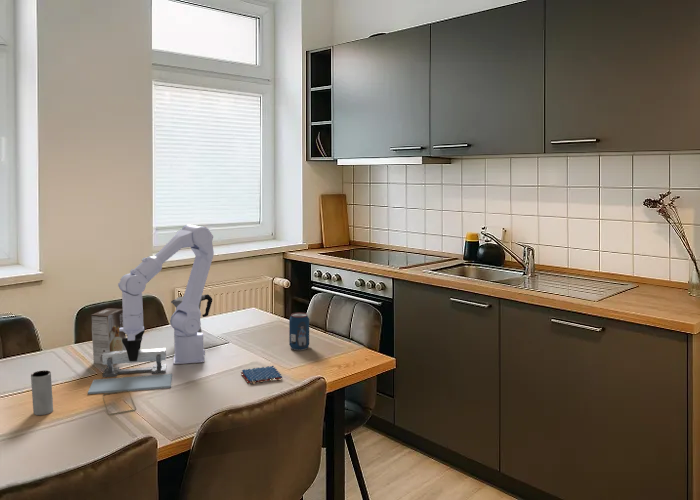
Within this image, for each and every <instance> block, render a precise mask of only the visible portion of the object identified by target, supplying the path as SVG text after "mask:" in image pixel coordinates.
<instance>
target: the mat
mask: <svg viewBox="0 0 700 500" xmlns="http://www.w3.org/2000/svg"><path fill="white" fill-rule="evenodd" d="M172 379H173V373H167V374H166V373H163V374H151V375H141V376H140V375H139V376H138V375H137V376H125V377H108V378H100V379H93V380H92V383H91V384H90V387H89V389H88V391H87V395H95V394H107V393H113V392H119V391H129V392H135V391H147V390H159V389H171V388H172Z"/></svg>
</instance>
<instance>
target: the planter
mask: <svg viewBox="0 0 700 500" xmlns="http://www.w3.org/2000/svg"><path fill="white" fill-rule="evenodd" d="M30 383H31V396H32V397H31V398H32V410H33V414H34V415H35V416H44V415H45V416H46V415H48V414H51V413H53V411H54V400H53V387H52V386H53V385H52V372H51V371H49V370H39V371H35V372H32V373H31V374H30Z"/></svg>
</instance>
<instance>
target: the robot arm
mask: <svg viewBox="0 0 700 500" xmlns="http://www.w3.org/2000/svg"><path fill="white" fill-rule="evenodd" d="M213 240H214V235H213V234H212V232H211V231H210V229H209V228H208V227H206V226H202V225H201V226H200V225H199V226H198V225H194V224H191V223H190V224H188V223H187V224H186V225H183V227H182V228H181V229H179V230H178V231H176V233H175V235H173V237H172V238H171V239H170V240H169V241H168V242H167V243H166V244H165V245H164V246H163V247H162V248H160V250H159V251H158V252H156V254H155V255H153V256H147V257H143V258H142V259H141V261H142V262H140V263H139V264H138V265H137V266H136V267H135V268H132V269H130V270H129V273H126V274H124V275H122V276H121V278H120V279H119V280H120V281H119V282H118V283H117V287H118V288H119V290H120V291H121V297H122V299H121V302H122V303H121V304H122V306H121V307H122V309H123V327H122V328H119V331H123V332H124V333H125V336H126V338H123V339H122V343H123V344H124V346H125V348H126V350H127V354H128V358H129V361H137V358H138V351H139V350H141V347H142V346H141V345H142V341H143V337H144V334H145V331H146V329H145V326H144V309H143V305H144V304H143V292H144V291H145V289H146V285H147V284H148V283H149V282H150V281H151V280H152V279H153V278H155V276H157V275H158V274H160V272H162V269H163V264H164V263H165V262H166V261H169V259H170V258H171V257H173V256H174V255H175V254H176V253H178V252H179V251H180V250H181V249H185V248H190V249H191V251H192V253H193V254H194V256H195V257H194V259H193V264H192V266H191V269H190V270H191V271H190V274H189V277H188V280H187V283H186V284H187V285H186V287H185V291H184V295H183V296H184V297H183V300H182V303H180V304H179V305H178V306H177V308H176V307H175V311H174V312H173V314H172V315H171V316H170V319H169V323H170V326H171V328H172V329H173V341H174V343H173V344H174V356H173V363H172V364H173V365H182V364H196V363H197V364H199V363H204V362H205V356H206V352H205V351H206V349H204V348H205V347H204V332H202V333H198V331H199V329H200V326H201V325H202V324H201V316H202V312H201V308H200V309H199V303H200V300H201V297H202V295H203V293H204V289H205V286H206V282H207V279H208V275H209V272H210V268H211V266H212V261H213V259H214V255H215V254H214V253H215V252H214V245H213Z"/></svg>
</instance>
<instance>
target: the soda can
mask: <svg viewBox="0 0 700 500" xmlns="http://www.w3.org/2000/svg"><path fill="white" fill-rule="evenodd" d="M288 323H289V324H288V325H289V328H288V332H289V339H288V342H289V347H290V348H291V350H293V349H294V351H305V350H307V349H308V348H309V346H310V317H309V315H308V313H306V312H301V311H300V312H293V313H291V314H290V318H289V321H288ZM304 349H305V350H304Z"/></svg>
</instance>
